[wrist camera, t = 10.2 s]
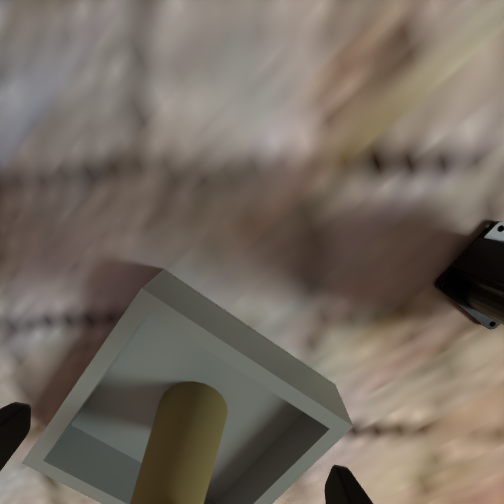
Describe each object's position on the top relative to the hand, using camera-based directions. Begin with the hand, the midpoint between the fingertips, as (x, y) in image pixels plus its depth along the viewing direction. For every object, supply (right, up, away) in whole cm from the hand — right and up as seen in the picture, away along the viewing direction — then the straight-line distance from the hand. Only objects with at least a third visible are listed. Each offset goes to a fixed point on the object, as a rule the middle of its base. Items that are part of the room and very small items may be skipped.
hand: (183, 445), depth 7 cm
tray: (-3, -8, +15) cm, 17 cm away
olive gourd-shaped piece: (-3, -8, +14) cm, 17 cm away
